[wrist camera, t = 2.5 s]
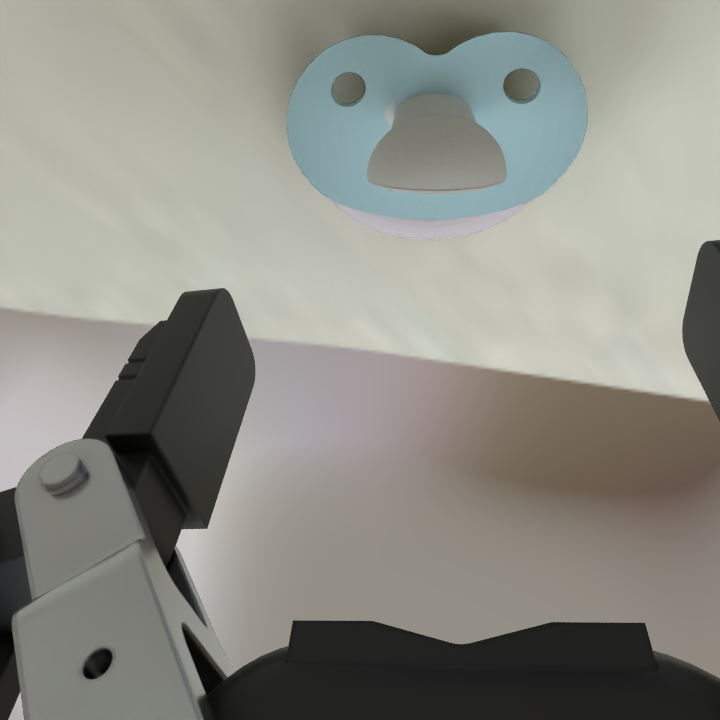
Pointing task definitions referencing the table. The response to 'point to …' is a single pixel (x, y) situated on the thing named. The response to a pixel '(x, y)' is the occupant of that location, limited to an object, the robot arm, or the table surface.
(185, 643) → the robot arm
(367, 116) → the pacifier
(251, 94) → the table surface
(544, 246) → the table surface
